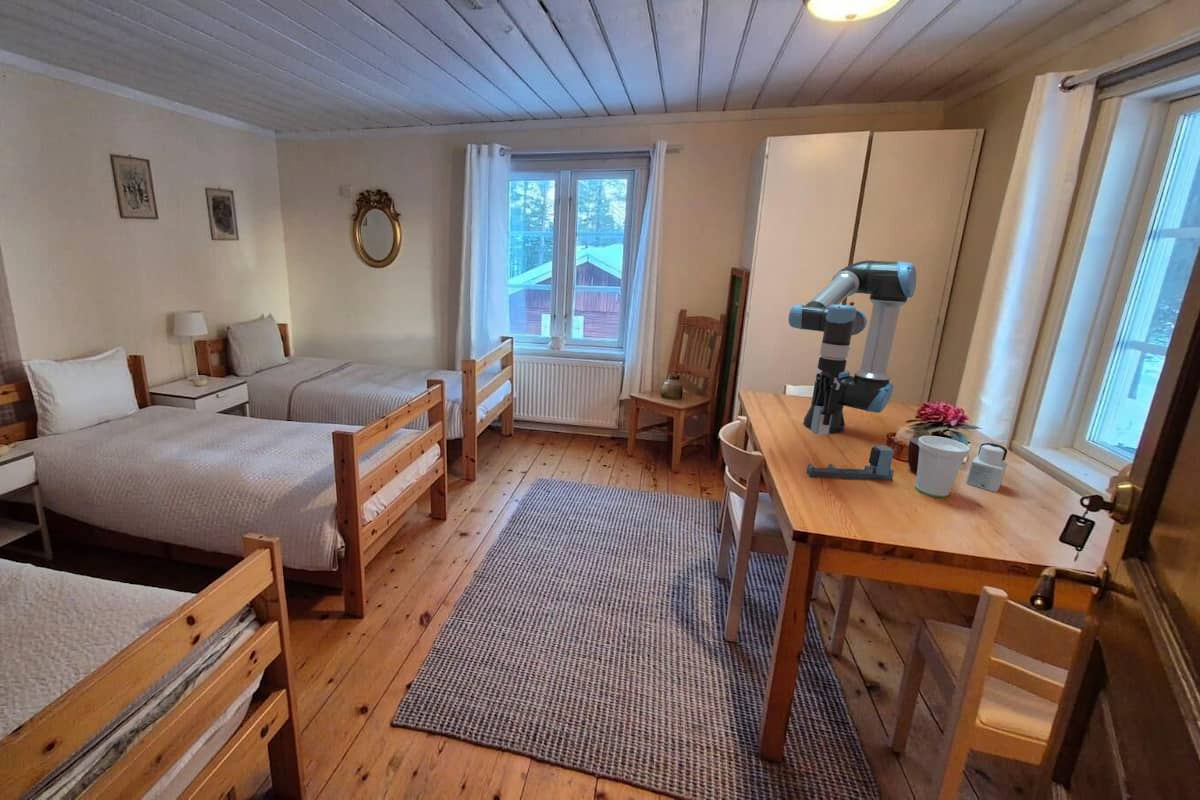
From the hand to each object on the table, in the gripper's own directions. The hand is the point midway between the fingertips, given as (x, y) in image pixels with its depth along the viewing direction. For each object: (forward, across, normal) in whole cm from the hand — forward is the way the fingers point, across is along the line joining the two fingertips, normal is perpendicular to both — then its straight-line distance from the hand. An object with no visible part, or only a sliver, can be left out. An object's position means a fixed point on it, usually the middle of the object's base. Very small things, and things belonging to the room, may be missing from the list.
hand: (819, 431), depth 156 cm
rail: (+13, -3, -10) cm, 17 cm away
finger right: (0, 0, 0) cm, 0 cm away
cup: (+13, -10, -31) cm, 36 cm away
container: (+13, -4, -51) cm, 53 cm away
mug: (+13, +3, -35) cm, 38 cm away
